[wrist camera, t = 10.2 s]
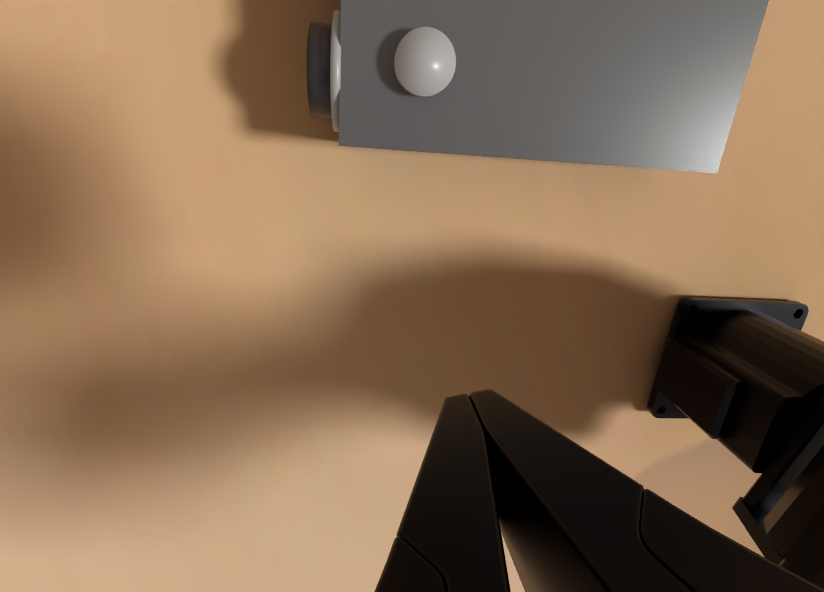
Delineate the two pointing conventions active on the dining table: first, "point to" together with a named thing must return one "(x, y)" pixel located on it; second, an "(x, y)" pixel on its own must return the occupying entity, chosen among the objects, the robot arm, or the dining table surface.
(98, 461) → the dining table surface
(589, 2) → the block
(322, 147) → the dining table surface
